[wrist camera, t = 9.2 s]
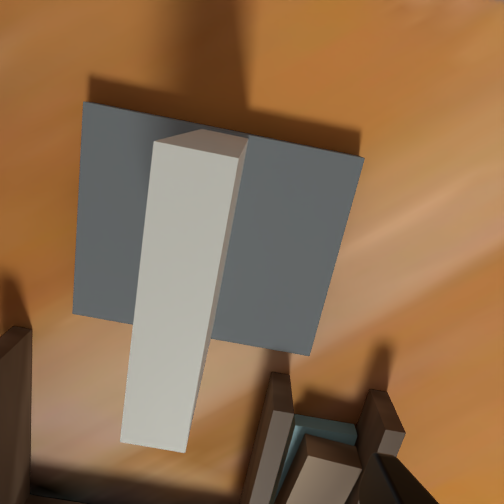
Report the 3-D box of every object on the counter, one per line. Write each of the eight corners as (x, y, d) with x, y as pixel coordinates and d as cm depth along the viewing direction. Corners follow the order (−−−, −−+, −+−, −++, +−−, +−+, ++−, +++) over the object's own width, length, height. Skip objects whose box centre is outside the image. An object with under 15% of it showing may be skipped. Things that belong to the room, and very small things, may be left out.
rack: (13, 503, 25) (-18, 552, 23) (13, 326, 21) (-25, 358, 18) (328, 553, 26) (336, 606, 24) (387, 392, 22) (405, 433, 19)
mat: (81, 304, 21) (72, 313, 20) (92, 102, 18) (83, 101, 17) (307, 345, 21) (309, 356, 20) (359, 155, 18) (364, 158, 17)
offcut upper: (271, 508, 24) (272, 533, 23) (304, 433, 22) (308, 455, 21) (318, 519, 24) (322, 545, 23) (355, 446, 22) (362, 469, 21)
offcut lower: (269, 493, 26) (269, 516, 24) (293, 406, 23) (295, 425, 22) (322, 502, 26) (326, 525, 24) (351, 416, 24) (357, 435, 22)
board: (173, 316, 20) (119, 441, 12) (201, 128, 17) (153, 140, 9) (213, 323, 20) (184, 453, 12) (248, 138, 17) (238, 158, 9)
